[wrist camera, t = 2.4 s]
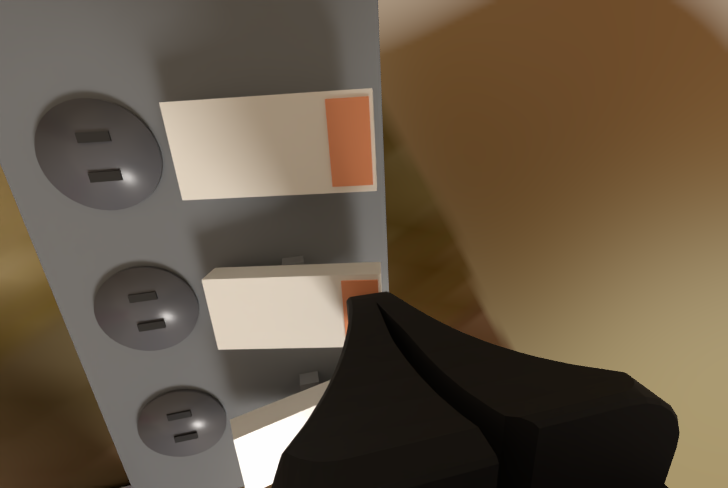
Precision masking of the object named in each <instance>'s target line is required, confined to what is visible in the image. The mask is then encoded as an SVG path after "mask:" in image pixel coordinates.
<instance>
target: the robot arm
mask: <svg viewBox="0 0 728 488" xmlns="http://www.w3.org/2000/svg"><path fill="white" fill-rule="evenodd" d="M346 303H347V315H348V327H347V333H346V337H345V341H344V345H343V349H342V352H341V355H340V358H339V361H338V364H337V366H336V369H335V371H334V373H333V376H332V378H331V380H330V382H329V384H328V386H327V388H326V390H325V392H324V394H323V396H322V397H321V399H320V401H319V402H318V404H317V405H316V407H315V409H314V410H313V412H312V414H311V415H310V417H309V418H308V420H307V421H306V423H305V424H304V426H303V427H302V428H301V430H300V431H299V432H298V433H297V435H296V436H295V437H294V439H293V440H292V441H291V443H290V444H289V445H288V446H287V448H286V449H285V450H284V452H283V453H282V454H281V457H280V460H279V464H278V467H277V470H276V474H275V477H274V480H273V484H272V488H668V487H667V486H666V485H665V484H664V483H665V480H666V477H667V474H668V471H669V468H670V465H671V462H672V459H673V456H674V453H675V450H676V448H677V442H678V438H679V426H678V419H677V415H676V414H675V412H674V411H673V409H672V407H671V406H670V405H669V404H668V403H666V402H665V401H663V400H662V399H661V398H659V397H658V396H657V395H655V394H654V393H653V392H651V391H650V390H648V389H647V388H646V387H644V386H643V385H642V384H640V383H639V382H637V381H636V380H635V379H633V378H632V377H631V376H629V375H628V374H626V373H624V372H618V371H612V370H605V369H599V368H592V367H585V366H579V365H572V364H567V363H562V362H558V361H553V360H549V359H544V358H539V357H535V356H531V355H527V354H524V353H520V352H517V351H513V350H510V349H507V348H503V347H500V346H497V345H494V344H491V343H488V342H485V341H483V340H480V339H477V338H475V337H472V336H470V335H467V334H465V333H462V332H460V331H458V330H456V329H454V328H451V327H449V326H447V325H445V324H443V323H441V322H439V321H437V320H435V319H434V318H432V317H430V316H428V315H426V314H424V313H423V312H421V311H419V310H418V309H416V308H414V307H412V306H411V305H409V304H408V303H406V302H404V301H403V300H401V299H399V298H398V297H396V296H394V295H393V294H391V293H389V292H387V291H385V292H379V293H372V294H366V295H359V296H353V297H349V298H348V299H347V301H346ZM121 488H132V487H131V485H129V486H125V487H121Z"/></svg>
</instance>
